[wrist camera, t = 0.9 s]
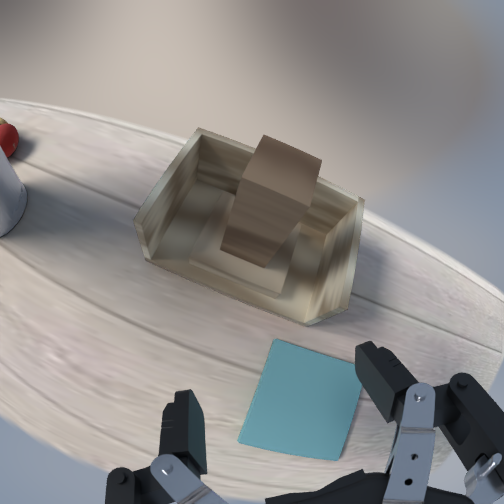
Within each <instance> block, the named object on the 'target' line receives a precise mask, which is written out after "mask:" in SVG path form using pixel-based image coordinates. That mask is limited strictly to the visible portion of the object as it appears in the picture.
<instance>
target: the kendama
mask: <svg viewBox="0 0 504 504" xmlns="http://www.w3.org/2000/svg"><path fill="white" fill-rule="evenodd" d="M18 140H19V135H18V132H17V129H16V128H15V127H14V126H13V125H11V124H8V123H7V122H6V121H5V120H4V119H2V118H0V146H1V148H2V150H3V152H4V153H5V155H6V157H9V156H10V155H11V154H12V153H13V152H14V151H15V150H16V147H17V145H18Z"/></svg>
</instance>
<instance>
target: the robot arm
mask: <svg viewBox="0 0 504 504" xmlns="http://www.w3.org/2000/svg"><path fill="white" fill-rule="evenodd" d="M26 203H27V191H26V189H25V187H24V185H23V184H22V182H21V181H20V179H19V177H18V176H17V174H16V172H15V171H14V169H13V167H12V166H11V164H10V162H9V160H8V159H7V157H6V155H5V153H4V152H3V150H2V148H1V146H0V237H1V236H3V235H5V234H6V233H8V232H9V231H10V230H11V229H12V228H13V227H14V226H15V225H16V224H17V222H18V221H19V220H20V218H21V216H22V214H23V212H24V210H25V207H26ZM355 372H356V375H357V377H358V379H359V381H360V382H361V384H362V385H363V387H364V388H365V390H366V391H367V393H368V394H369V396H370V397H371V399H372V400H373V402H374V404H375V405H376V407H377V408H378V410H379V411H380V413H381V414H382V416H383V417H384V419H385V420H386V422H387V423H389V422H391V421H393V420H395V422H396V423H397V426H396V431H395V435H394V440H393V444H392V448H391V452H390V456H389V459H388V462H387V465H386V468H385V471H384V473H380V472H373V473H364V471H363V469H361V470H359V471H356V472H354V473H351V474H349V475H346V476H343V477H341V478H339V479H337V480H335V481H334V482H332V483H330V484H329V485H327V486H325V487H324V488H322V489H320V490H318V491H314V492H302V493H288V494H284V495H280V496H275V497H271V498H266V499H265V502H266V504H492V503H493V502H494V501H496V500H498V499H499V498H500V497H502V496H503V495H504V412H503V411H502V410H501V408H500V407H499V406H498V405H497V404H496V402H494V400H493V399H492V398H491V397H490V396H489V394H488V393H487V392H486V391H485V390H484V389H483V388H482V386H481V385H480V384H479V383H478V382H477V381H476V380H475V379H474V378H473V377H472V376H471V375H470V374H467V373H458V374H455V375H454V376H453V377H452V378H451V380H450V382H449V383H448V384H444V385H440V386H436V387H432V386H430V385H429V384H426V383H419V382H418V381H417V380H416V379H415V378H414V376H413V375H412V374H411V373H410V372H409V371H408V370H407V368H406V367H405V366H404V365H403V364H401V362H400V360H399V359H397V357H396V356H395V355H394V354H393V353H392V351H390V350H388V349H386V348H384V347H380V348H377V347H376V346H375V345H374V343H373V342H372V341H368V342H365V343H363V344H360V345H357V346H356V348H355ZM437 426H439V428H440V429H441V431H442V432H443V434H444V435H445V437H446V438H447V440H448V441H449V443H450V444H451V446H452V447H453V449H454V451H455V452H456V454H457V455H458V457H459V458H460V460H461V461H462V463H463V465H464V466H465V468H466V469H467V471H468V472H467V473H466V476H465V479H464V482H465V487H466V496H465V495H462V494H457V493H453V492H449V491H444V490H440V489H436V488H432V487H429V486H427V484H428V479H429V474H430V469H431V463H432V456H433V450H434V442H435V430H433V428H434V427H437ZM161 428H162V429H161V435H160V446H159V455H158V457H157V458H155V459H154V460H153V462H152V463H151V466H149V467H146V468H143V469H140V470H137V471H133V472H132V471H131V470H129V469H127V468H124V467H120V468H116V469H114V470H112V471H111V472H110V473H109V475H108V478H107V486H106V497H105V504H169V503H172V502H177V503H178V504H228V503H227V502H226V501H224V500H223V499H222V498H221V497H220V496H218V495H217V494H216V493H215V492H214V491H213V490H211V489H210V488H209V487H208V486H206V485H205V484H204V483H203V482H202V481H201V480H200V475H203V474H207V462H206V445H205V423H204V415H203V411H202V409H201V407H200V405H199V403H198V401H197V399H196V397H195V395H194V393H193V391H192V390H191V389H190V390H183V391H177V392H175V399H174V403H168V404H167V405H166V407H165V409H164V411H163V415H162V425H161Z"/></svg>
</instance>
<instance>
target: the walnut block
mask: <svg viewBox="0 0 504 504" xmlns="http://www.w3.org/2000/svg"><path fill="white" fill-rule="evenodd" d="M321 163H322V160H320V159H318V158H316V157H314V156H312V155H310V154H307V153H305V152H303V151H301V150H298V149H296V148H294V147H292V146H290V145H287V144H285V143H283V142H280V141H278V140H276V139H273V138H271V137H268V136H266V135H263V137H262V139H261V141H260V142H259V145H258V146H257V148H256V150H255V152H254V154H253V156H252V158H251V160H250V161H249V163H248V165H247V167H246V169H245V171H244V173H243V175H242V177H241V180H240V183H239V187H238V190H237V193H236V196H235V200H234V203H233V206H232V209H231V213H230V216H229V219H228V223H227V226H226V230H225V233H224V236H223V240H222V243H221V247H220V250H221V251H224V252H226V253H228V254H231V255H233V256H235V257H238V258H240V259H243V260H245V261H247V262H250V263H252V264H255V265H257V266H259V267H262V268H265V267H266V265H267V264H268V263H269V261H270V260H271V259H272V257H273V256H274V255H275V253H276V252H277V251H278V249H279V248H280V247H281V245H282V244H283V243H284V241H285V240H286V239H287V237H288V236H289V234H290V233H291V232H292V230H293V229H294V228H295V226H296V225H297V224H298V222H299V221H300V220H301V218H302V217H303V215H304V214H305V213H306V211H307V210H308V209H309V207H310V204H311V201H312V197H313V193H314V190H315V186H316V182H317V178H318V174H319V170H320V167H321Z"/></svg>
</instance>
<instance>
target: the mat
mask: <svg viewBox="0 0 504 504" xmlns="http://www.w3.org/2000/svg"><path fill="white" fill-rule="evenodd" d="M361 388H362V384H361V382H360V381H359V379H358V377H357V375H356V372H355V364H352V363H348V362H345V361H342V360H339V359H335V358H332V357H329V356H326V355H323V354H320V353H317V352H314V351H311V350H308V349H305V348H302V347H299V346H296V345H293V344H290V343H287V342H284V341H281V340H279V339H274V340H273V343H272V346H271V349H270V352H269V355H268V358H267V361H266V364H265V367H264V370H263V372H262V375H261V378H260V381H259V384H258V387H257V389H256V392H255V395H254V398H253V400H252V403H251V406H250V409H249V411H248V414H247V417H246V419H245V422H244V424H243V427H242V430H241V432H240V435H239V437H238V440H237V441H238V442H239V443H241V444H245V445H249V446H253V447H257V448H261V449H266V450H270V451H275V452H280V453H285V454H290V455H296V456H302V457H309V458H316V459H324V460H333V461H338V459H339V456H340V454H341V451H342V448H343V445H344V443H345V440H346V437H347V434H348V431H349V428H350V425H351V422H352V419H353V416H354V412H355V409H356V406H357V402H358V399H359V395H360V392H361Z"/></svg>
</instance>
